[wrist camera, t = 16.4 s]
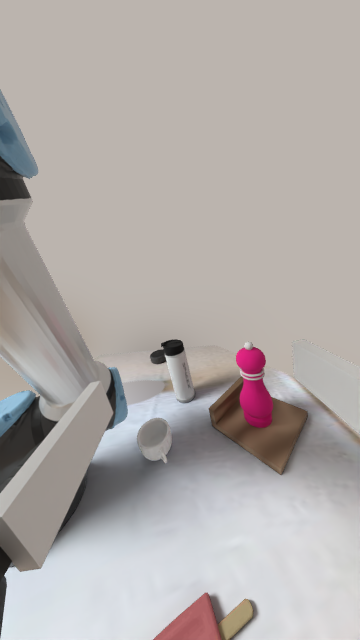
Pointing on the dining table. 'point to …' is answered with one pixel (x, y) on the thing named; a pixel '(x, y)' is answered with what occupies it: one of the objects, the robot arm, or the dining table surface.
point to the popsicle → (206, 622)
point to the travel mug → (179, 370)
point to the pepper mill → (254, 387)
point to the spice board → (260, 442)
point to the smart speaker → (158, 357)
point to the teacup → (155, 439)
